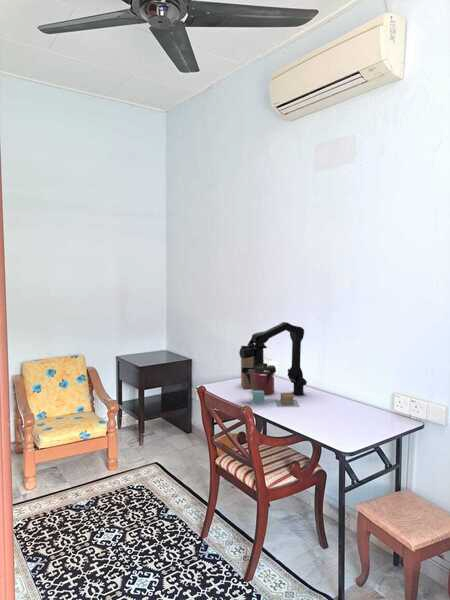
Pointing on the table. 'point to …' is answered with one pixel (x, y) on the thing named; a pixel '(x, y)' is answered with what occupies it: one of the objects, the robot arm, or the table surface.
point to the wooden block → (244, 379)
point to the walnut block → (287, 398)
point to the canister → (263, 383)
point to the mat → (279, 404)
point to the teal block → (258, 396)
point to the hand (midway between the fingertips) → (258, 384)
